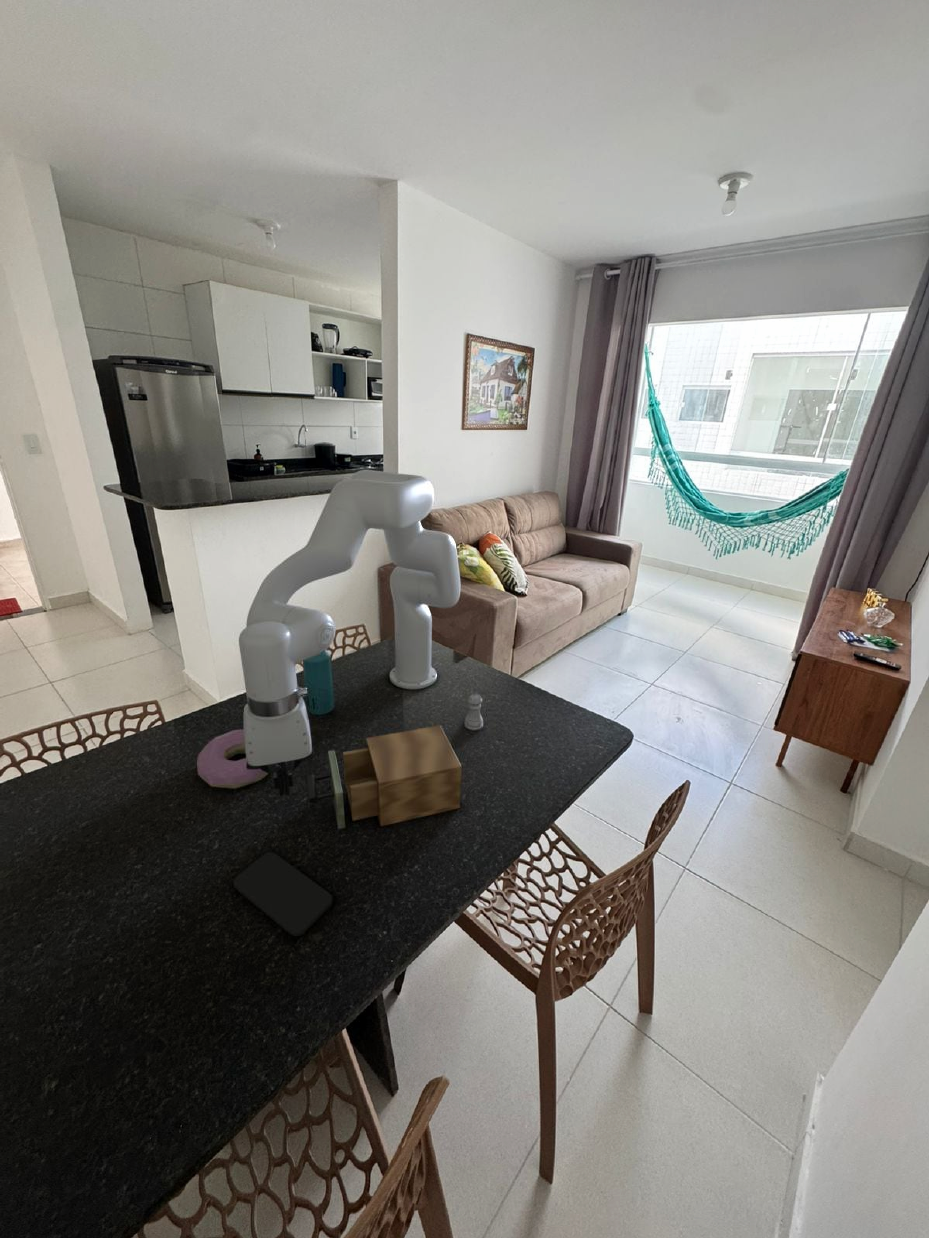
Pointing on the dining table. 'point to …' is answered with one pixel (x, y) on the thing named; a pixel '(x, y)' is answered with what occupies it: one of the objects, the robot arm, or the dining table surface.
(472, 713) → the rook chess piece
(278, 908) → the phone
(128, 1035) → the dining table surface
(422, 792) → the cabinet
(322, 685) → the beverage bottle
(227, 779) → the donut
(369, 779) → the drawer
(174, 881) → the dining table surface
